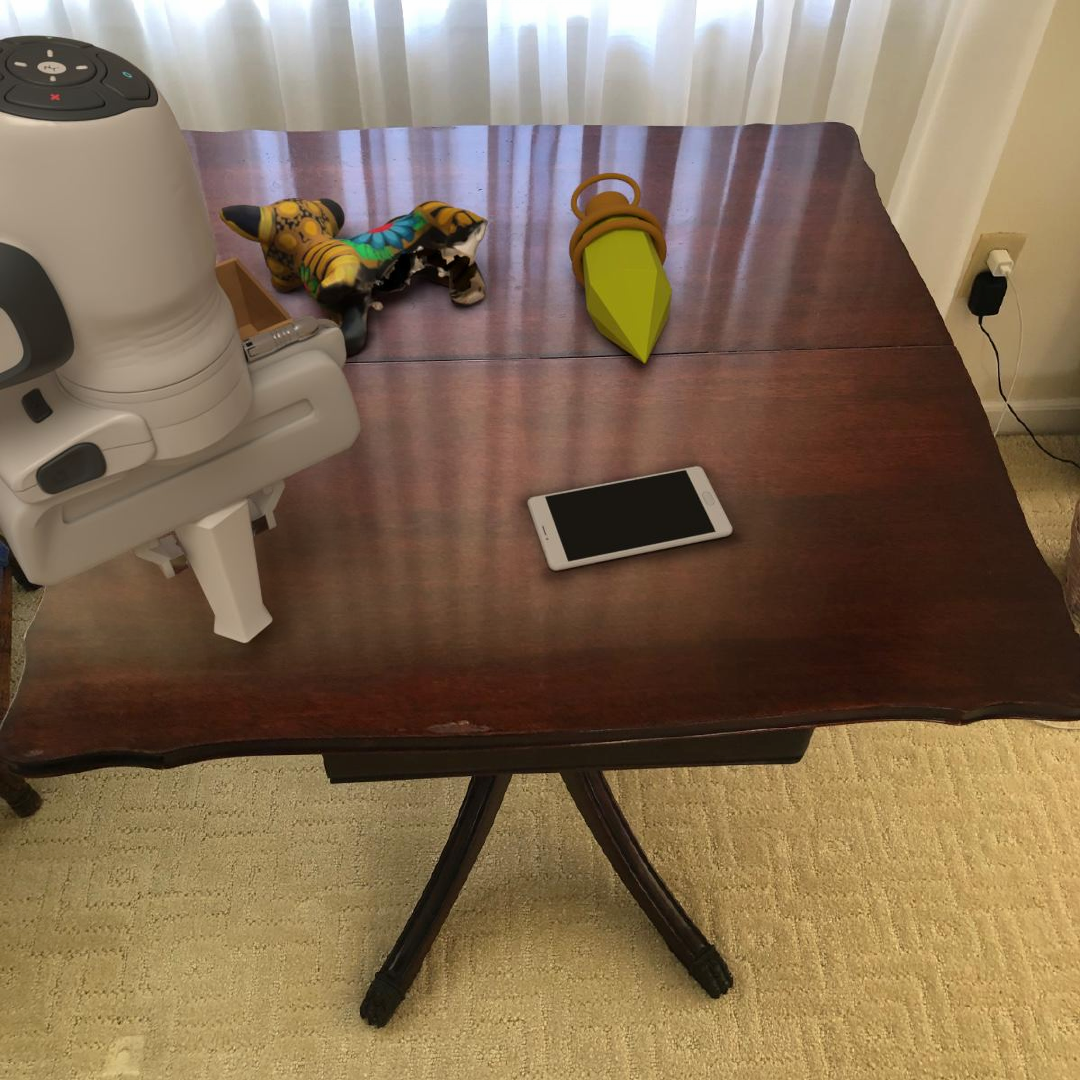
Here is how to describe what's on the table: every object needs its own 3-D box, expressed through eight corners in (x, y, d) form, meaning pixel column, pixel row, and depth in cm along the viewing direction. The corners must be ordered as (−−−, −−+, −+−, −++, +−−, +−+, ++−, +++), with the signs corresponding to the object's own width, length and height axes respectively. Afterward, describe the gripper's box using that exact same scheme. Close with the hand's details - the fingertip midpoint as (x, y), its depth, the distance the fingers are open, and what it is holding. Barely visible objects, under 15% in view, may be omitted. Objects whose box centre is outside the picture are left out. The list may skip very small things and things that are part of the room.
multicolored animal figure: (488, 333, 99) (384, 240, 106) (514, 223, 90) (398, 129, 97) (319, 390, 88) (214, 281, 95) (330, 270, 79) (213, 160, 86)
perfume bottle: (271, 648, 66) (229, 497, 55) (205, 645, 66) (149, 493, 55) (283, 593, 69) (247, 439, 58) (220, 590, 69) (171, 435, 57)
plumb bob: (699, 384, 90) (647, 200, 103) (693, 316, 82) (638, 126, 95) (602, 406, 91) (562, 221, 104) (587, 341, 83) (546, 150, 96)
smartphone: (735, 531, 77) (550, 568, 75) (734, 536, 78) (550, 574, 75) (701, 463, 82) (525, 496, 79) (700, 468, 82) (525, 501, 80)
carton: (206, 432, 84) (183, 366, 78) (154, 363, 89) (129, 296, 84) (308, 386, 88) (294, 320, 82) (253, 323, 93) (236, 256, 87)
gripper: (310, 276, 56) (339, 447, 67) (-66, 420, 48) (36, 588, 59) (367, 335, 53) (388, 504, 64) (-24, 500, 45) (76, 662, 56)
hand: (217, 546), depth 61 cm, fingers closed on perfume bottle, 4 cm apart
